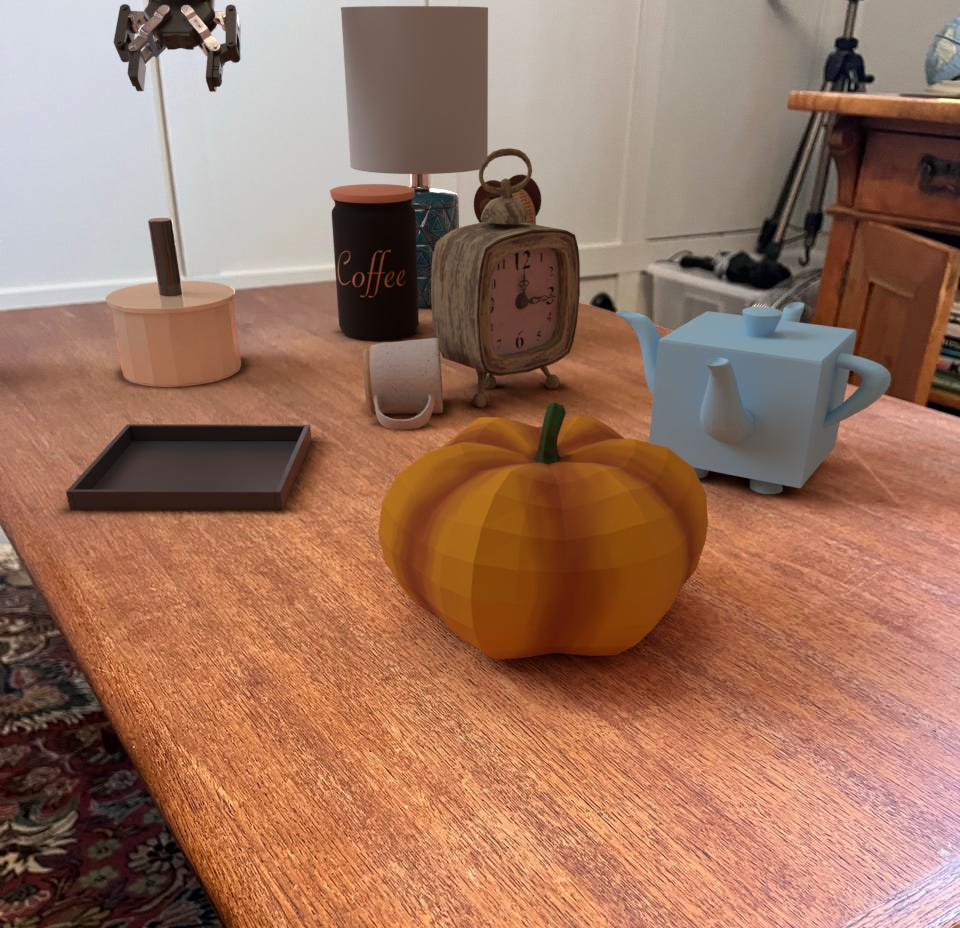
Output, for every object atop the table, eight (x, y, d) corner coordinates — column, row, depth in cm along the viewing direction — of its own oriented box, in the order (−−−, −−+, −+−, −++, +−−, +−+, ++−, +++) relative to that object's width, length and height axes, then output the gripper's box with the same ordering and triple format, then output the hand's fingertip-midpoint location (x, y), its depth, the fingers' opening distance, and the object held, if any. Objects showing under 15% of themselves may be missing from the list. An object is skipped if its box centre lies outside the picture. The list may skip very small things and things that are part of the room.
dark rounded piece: (527, 366, 124) (532, 188, 113) (427, 349, 130) (423, 179, 120) (582, 339, 135) (590, 174, 124) (487, 324, 141) (487, 167, 131)
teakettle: (883, 499, 89) (921, 328, 81) (686, 521, 85) (707, 343, 77) (775, 429, 104) (799, 280, 97) (604, 444, 100) (615, 291, 93)
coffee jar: (328, 341, 133) (317, 193, 124) (355, 322, 142) (347, 182, 133) (405, 346, 131) (400, 196, 122) (428, 326, 140) (425, 185, 131)
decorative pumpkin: (384, 557, 79) (374, 364, 71) (664, 549, 80) (684, 359, 72) (380, 704, 61) (367, 471, 54) (737, 691, 63) (774, 461, 55)
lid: (89, 319, 111) (72, 230, 106) (129, 290, 123) (115, 209, 119) (221, 319, 111) (209, 230, 106) (247, 291, 123) (237, 209, 119)
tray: (70, 513, 86) (65, 491, 85) (130, 443, 100) (126, 424, 99) (282, 513, 86) (280, 491, 85) (311, 443, 100) (310, 424, 99)
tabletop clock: (476, 416, 107) (476, 156, 95) (425, 396, 113) (418, 149, 101) (574, 390, 115) (587, 147, 103) (522, 372, 121) (527, 141, 109)
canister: (108, 389, 116) (93, 313, 111) (142, 356, 127) (130, 286, 123) (227, 389, 115) (217, 313, 111) (250, 356, 127) (242, 286, 123)
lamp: (391, 325, 141) (377, 5, 121) (339, 297, 155) (318, 8, 136) (510, 309, 149) (515, 6, 129) (450, 284, 163) (446, 9, 144)
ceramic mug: (368, 401, 112) (364, 330, 108) (442, 399, 112) (441, 329, 108) (364, 435, 103) (359, 360, 99) (444, 434, 103) (443, 358, 99)
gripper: (114, -56, 118) (101, 60, 114) (236, -55, 118) (227, 60, 114) (135, 0, 125) (124, 110, 121) (250, 0, 125) (242, 110, 121)
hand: (174, 86), depth 118 cm, fingers open, 8 cm apart
